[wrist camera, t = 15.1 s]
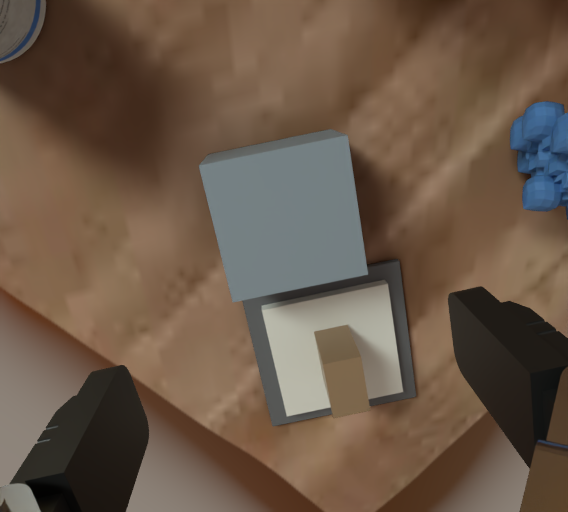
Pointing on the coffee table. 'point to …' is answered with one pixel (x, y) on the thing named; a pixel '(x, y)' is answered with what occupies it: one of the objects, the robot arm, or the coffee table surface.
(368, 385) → the lid
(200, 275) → the coffee table surface
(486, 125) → the coffee table surface
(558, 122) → the grapes
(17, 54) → the supplement tub
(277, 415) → the rubber mat
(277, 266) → the storage box
